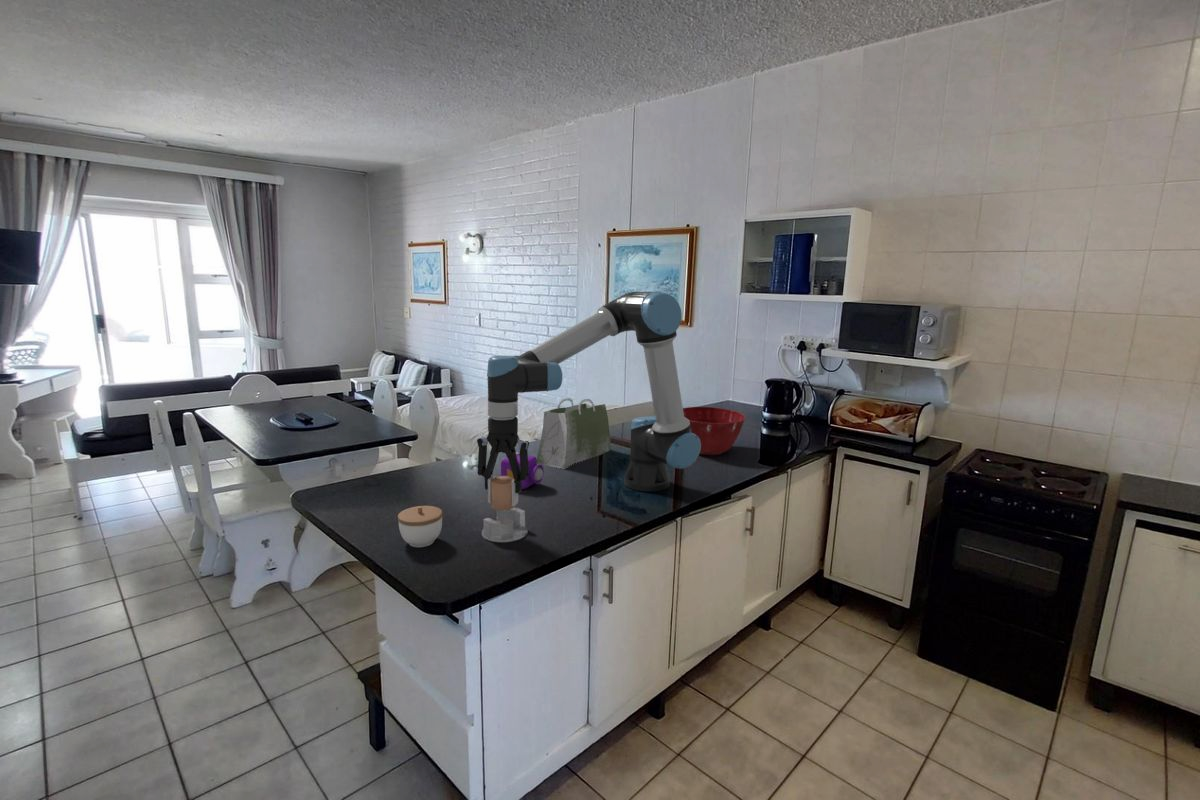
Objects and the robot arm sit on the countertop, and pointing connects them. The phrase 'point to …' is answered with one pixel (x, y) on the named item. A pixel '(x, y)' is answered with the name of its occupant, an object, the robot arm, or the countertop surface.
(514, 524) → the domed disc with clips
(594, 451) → the grocery bag
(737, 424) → the mixing bowl
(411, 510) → the lidded jar
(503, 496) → the tan tapered cylinder
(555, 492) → the countertop surface
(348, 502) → the countertop surface
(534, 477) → the toy camera
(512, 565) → the countertop surface
